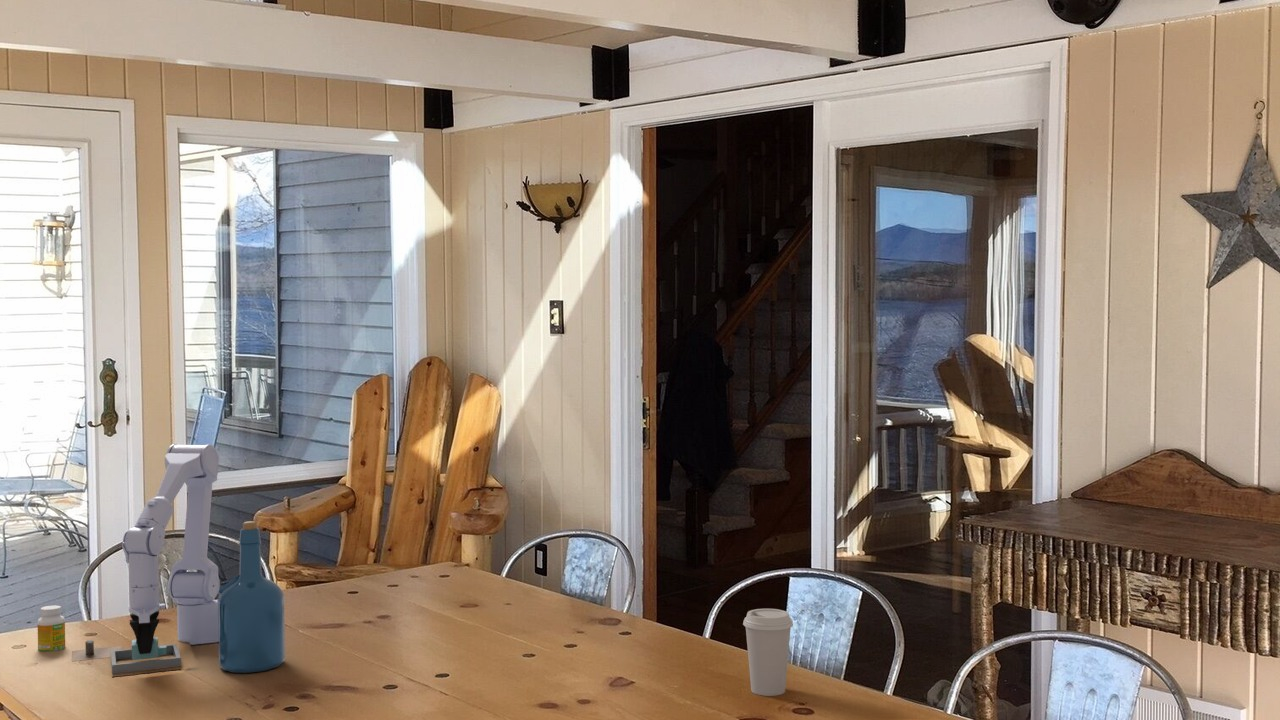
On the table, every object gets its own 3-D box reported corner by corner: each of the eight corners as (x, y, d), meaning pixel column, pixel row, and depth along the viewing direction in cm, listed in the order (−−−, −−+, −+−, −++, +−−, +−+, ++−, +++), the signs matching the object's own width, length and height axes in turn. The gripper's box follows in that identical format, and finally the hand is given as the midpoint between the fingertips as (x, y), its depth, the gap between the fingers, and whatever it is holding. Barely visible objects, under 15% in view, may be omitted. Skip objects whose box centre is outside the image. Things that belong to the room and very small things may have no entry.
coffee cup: (739, 684, 242) (739, 608, 242) (787, 682, 243) (787, 606, 243) (747, 699, 233) (747, 620, 232) (798, 697, 234) (797, 618, 233)
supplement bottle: (54, 655, 266) (53, 610, 266) (32, 654, 267) (31, 609, 267) (70, 649, 271) (69, 605, 271) (49, 648, 272) (48, 604, 272)
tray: (176, 655, 266) (176, 643, 266) (181, 669, 255) (180, 657, 255) (110, 662, 260) (110, 650, 260) (112, 677, 249) (111, 665, 249)
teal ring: (132, 653, 259) (132, 639, 259) (166, 650, 261) (166, 636, 261) (132, 660, 254) (131, 645, 254) (166, 656, 257) (166, 642, 257)
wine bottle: (298, 660, 262) (296, 518, 261) (259, 677, 249) (257, 528, 248) (243, 654, 266) (241, 515, 265) (202, 671, 254) (200, 525, 253)
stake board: (122, 649, 271) (122, 633, 271) (123, 659, 263) (123, 643, 263) (71, 654, 267) (71, 638, 267) (71, 665, 259) (71, 648, 259)
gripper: (164, 590, 252) (166, 656, 252) (164, 576, 265) (165, 639, 266) (127, 593, 249) (128, 660, 250) (128, 579, 263) (130, 642, 263)
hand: (145, 650), depth 257 cm, fingers closed on teal ring, 5 cm apart
